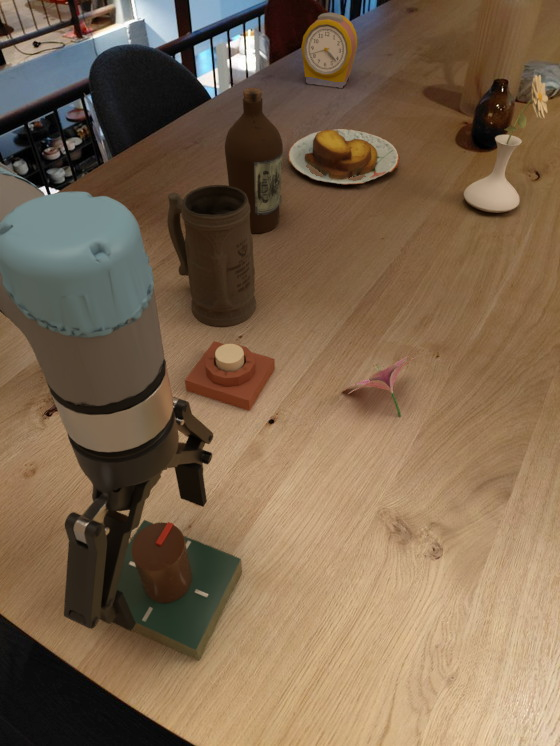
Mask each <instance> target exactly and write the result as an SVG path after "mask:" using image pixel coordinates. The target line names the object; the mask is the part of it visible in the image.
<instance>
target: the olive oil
mask: <svg viewBox="0 0 560 746" xmlns="http://www.w3.org/2000/svg"><path fill="white" fill-rule="evenodd" d="M262 94H263V91H262V89H260V88H259V87H258V88H257V87H248V88H245V89H243V92H242V95H243V98H242V109H243V112H242V114H241V116H239V118H237V120H236V121H235V122H234V123H233V124H232V125H231V127H230V128H229V130H228V131H227V134H226V137H225V142H224V154H225V163H226V172H227V181H228V186H231V187H235V188H238V189H240V190H242V191H243V192H244V193H245V194H246V195H247V198H248V202H249V205H250V230H251V234H263V233H267V232H270V231H272V230H274V229H275V228H277V226H278V225H279V222H280V206H281V204H282V195H281V184H282V182H281V181H282V169H283V168H282V167H283V154H284V152H283V151H284V145H283V140H282V137H281V134H280V131H279V130H278V128H277V127H276V126H275V125H274V123H272V121H270V119H269V118H268V117H267V116H266V115H265V114H264V112H263V98H262V96H263V95H262Z"/></svg>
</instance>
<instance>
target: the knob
mask: <svg viewBox="0 0 560 746" xmlns="http://www.w3.org/2000/svg"><path fill="white" fill-rule="evenodd" d="M184 536H185V535H184V534H183V532H182V531H181V529H179V527H177V526H176V525H174V523H173V522H169V521H167V522H155V523H153V524H151V525H149V526H147V527H145V528H144V529H142V530H141V531H140V532H139V533H138V534H137V536H136V537H135V539H134V541H133V543H132V548H131V553H132V557H133V560H134V563H135V565H136V568H137V571H138V574H139V576H140V579H141V582H142V585H143V587H144V590H145V592H146V594H147V595H148V597H149V598H151V599H152V600H154V601H156V602H159V603H170V602H173V601H176V600H178V599H179V598H181V597H182V596H183V595H184V594H185V593H186V592H187V591H188V589H189V587H190V585H191V582H192V571H191V566H190V562H189V557H188V553H187V548H186V544H185V539H184Z"/></svg>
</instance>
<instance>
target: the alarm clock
mask: <svg viewBox="0 0 560 746" xmlns="http://www.w3.org/2000/svg"><path fill="white" fill-rule="evenodd" d="M357 49H358V34H357V31H356V29H355V26H354V25H353V23H352V21H350V20H349V19H348V18H347V17H346V16H345V15H342V14H339V13H336V12H324V13H321V14H319V15H318V16H317V19H316V20H314V22H313V23H312V24H311V25H309V27H308V28H307V30H306V31H305V33H304V34H303V37H302V42H301V54H302V65H303V71H304V72H303V73H304V78H305V77H313V78H318V79H323V80H328V81H333V82H345V81H346V79H347V78H348V76H349V75H350V76H351V72H352V68H353V66H354V65H353V64H354V60H355V56H356V53H357Z"/></svg>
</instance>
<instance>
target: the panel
mask: <svg viewBox="0 0 560 746" xmlns="http://www.w3.org/2000/svg"><path fill="white" fill-rule="evenodd" d="M151 524H154V523H153V522H151V521H148V520H145V519H144V520H143V521H142V522H141V524H139V526H138V527H137V530H136V531H135V532H134V535H133V536H132V537H131V538H130V540H129V543H128V547H127V551H126V555H125V560H124V564H123V568H122V572H121V576H120V580H119V584H118V588H117V590H118V591H121V592H123V594H124V597H125V599H126V601H127V604H128V606H129V609H130V611H131V613H132V616H133V618H134V620H135V623H136V624H135V626H134V627H133V629H132V631H134V632H136V633H137V634H140V635H142V636H145V637H146V638H148V639H151V640H153V641H155V642H158V643H159V644H162V645H164V646H165V647H168V648H170V649H172V650H174V651H176V652H179V653H181V654H183V655H185V656H187V657H190V658H192V659H194V660H196V661H198V662H199V661H200V659H201V657H202V656H203V653H204V652H205V649H206V647H207V646H208V644H209V642H210V639H211V638H212V636H213V633H214V632H215V629H216V627H217V626H218V625H217V624H218V623H219V621H220V618H221V616H222V614H223V612H224V610H225V608H226V606H227V604H228V602H229V600H230V599H231V598H230V597H231V596H232V593H233V592H234V590H235V587H236V585H237V584H238V581H239V579H240V577H241V575H242V573H243V565H242V558H240V557H237V556H235V555H233V554H230V553H229V552H225V551H222V550H220V549H217V548H216V547H214V546H211V545H209V544H205V543H204V542H200V541H198V540H196V539H193V538H190V537H188V536H186V535H183V536H184V539H185V544H186V548H187V553H188V557H189V562H190V566H191V571H192V582H191V585H190V587H189V589H188V591H187V592H186V593H185V594H184V595H183V596H182V597H181V598H179V599H178V600H176V601H173V602H170V603H159V602H156V601H154V600H152V599H151V598H149V597H148V595H147V594H146V592H145V590H144V587H143V585H142V582H141V579H140V576H139V574H138V571H137V568H136V565H135V563H134V560H133V557H132V553H131V548H132V543H133V541H134V539H135V537H136V536H137V534H138V533H139V532H140V531H141V530H142V529H144V528H145V527H147V526H149V525H151Z"/></svg>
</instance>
